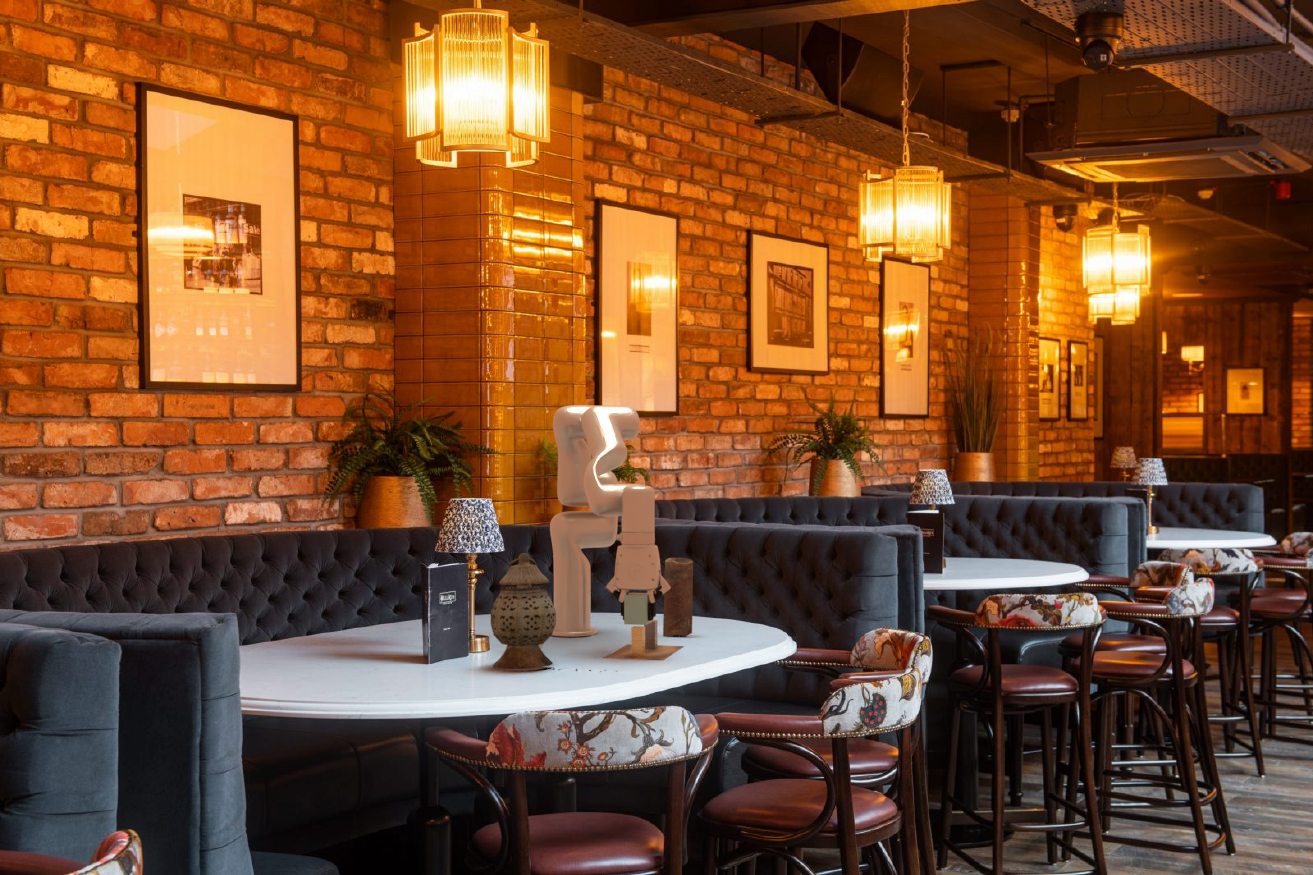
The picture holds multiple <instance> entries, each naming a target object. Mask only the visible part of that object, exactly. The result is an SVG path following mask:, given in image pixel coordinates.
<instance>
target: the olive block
mask: <svg viewBox="0 0 1313 875" xmlns="http://www.w3.org/2000/svg"><path fill="white" fill-rule="evenodd" d="M648 603H649V597H648V593H647V592H629V593H628V594H626V595H624V620H623V621H624V622H623V623H624V624H623V625H632V626H633V625H634V626H635V625H637V626H644V625H647V624H649V623H651V622H652V620H651V621H648Z"/></svg>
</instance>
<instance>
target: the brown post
mask: <svg viewBox="0 0 1313 875" xmlns="http://www.w3.org/2000/svg"><path fill="white" fill-rule="evenodd" d="M643 627H645V649H656V648H657V645H658V619H653V620H652V622H651V623H649V624H647V625H643Z"/></svg>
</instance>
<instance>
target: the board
mask: <svg viewBox="0 0 1313 875" xmlns="http://www.w3.org/2000/svg"><path fill="white" fill-rule="evenodd" d="M684 647H685V646H683V645H663V644H662V645H661V644H659V645H658V644H657V648H656V649H645V656H643V657H635V656H631V643H629V644H625V645H624V646H621V647H620V648H619V649H616V650H615V651H613V652H611V653H609V654H607V655H605V656H604V657H602V659H612V660H613V659H615V660H616V659H619V660H639V661H640V660H642V661H643V660H644V661H665V660H666V659H668V658H669V657H671V656H672V655H673V654H675V653H676V652H678V651H680V650H681V649H682V648H684Z"/></svg>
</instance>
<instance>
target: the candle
mask: <svg viewBox="0 0 1313 875" xmlns="http://www.w3.org/2000/svg"><path fill="white" fill-rule="evenodd" d="M693 576H694V561H693V560H692V559H690V558H686V557H669V558H666V559H665V560H664V579H665V580H666V582H667V583H668V584H669V585H670V589H669V590H668V591H667V592H666V593H664V594H663V621H662V622H663V624H662V626H663V627H662V636H663V637H667V638H685V637H687V636H690V635H692V634H693V593H694V592H693V587H694V586H693V583H694V580H693V578H694V577H693Z"/></svg>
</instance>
